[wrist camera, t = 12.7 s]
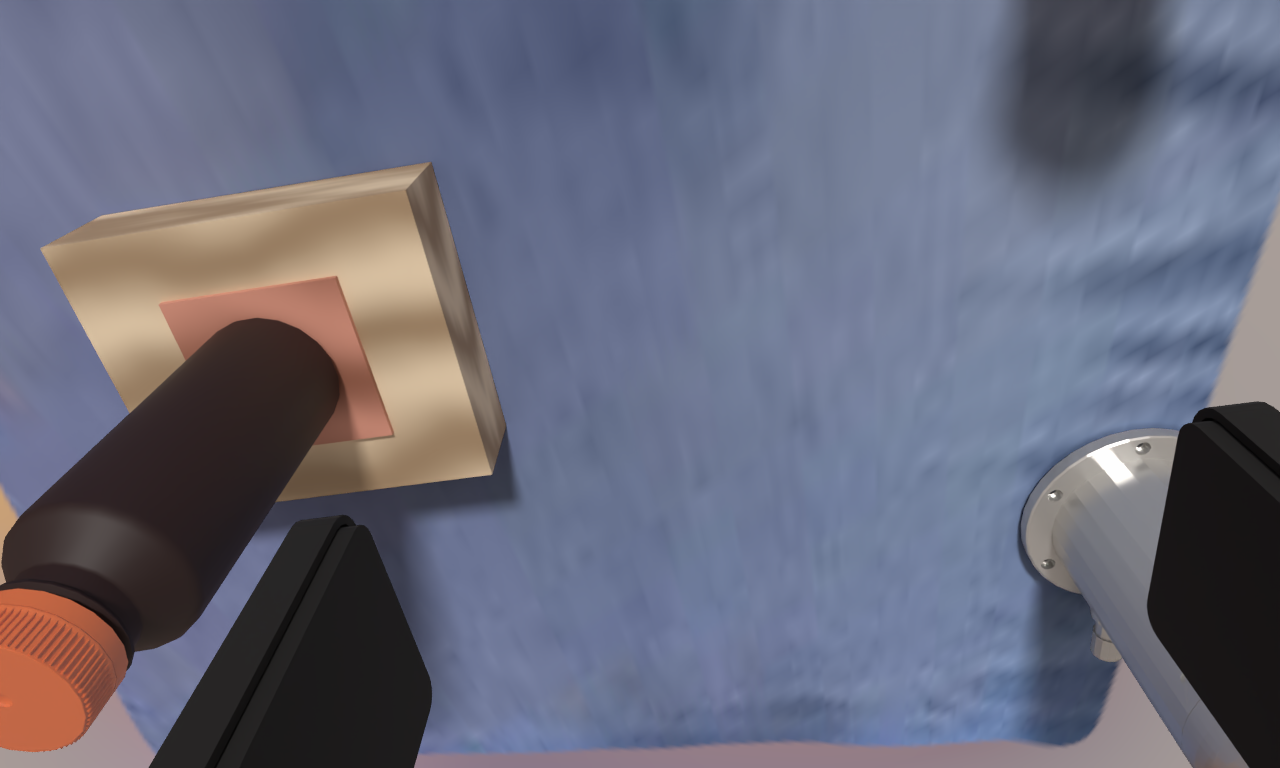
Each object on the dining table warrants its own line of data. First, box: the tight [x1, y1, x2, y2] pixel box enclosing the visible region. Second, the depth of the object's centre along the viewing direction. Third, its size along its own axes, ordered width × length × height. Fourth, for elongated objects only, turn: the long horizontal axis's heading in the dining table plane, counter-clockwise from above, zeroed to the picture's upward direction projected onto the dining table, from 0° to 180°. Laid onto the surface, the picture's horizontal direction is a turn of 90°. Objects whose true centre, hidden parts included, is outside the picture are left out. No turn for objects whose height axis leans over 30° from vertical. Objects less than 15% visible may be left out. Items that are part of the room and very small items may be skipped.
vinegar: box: [0, 318, 340, 752], centre depth 33 cm, size 7×7×20 cm
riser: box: [40, 162, 506, 502], centre depth 44 cm, size 16×18×5 cm
